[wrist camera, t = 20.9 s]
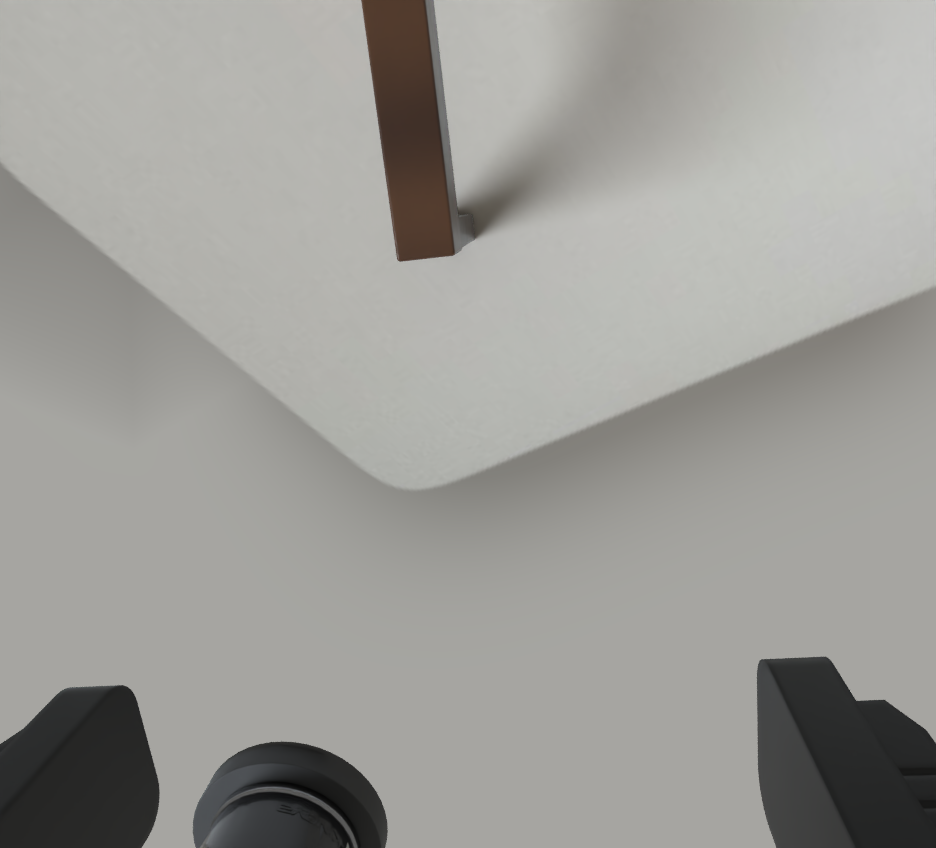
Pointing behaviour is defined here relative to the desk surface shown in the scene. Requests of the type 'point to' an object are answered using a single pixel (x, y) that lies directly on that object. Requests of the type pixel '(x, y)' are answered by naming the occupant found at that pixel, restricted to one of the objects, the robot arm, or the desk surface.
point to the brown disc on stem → (414, 129)
